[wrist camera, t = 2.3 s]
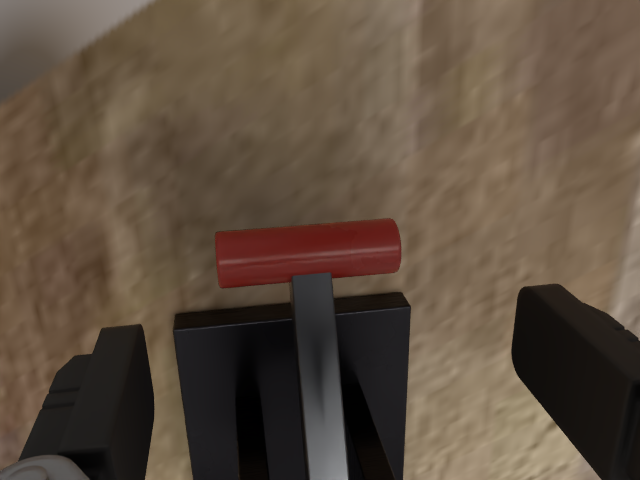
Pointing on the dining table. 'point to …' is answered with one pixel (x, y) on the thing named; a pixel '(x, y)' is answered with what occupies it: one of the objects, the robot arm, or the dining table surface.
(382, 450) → the bracket
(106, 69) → the dining table surface
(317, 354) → the lever
